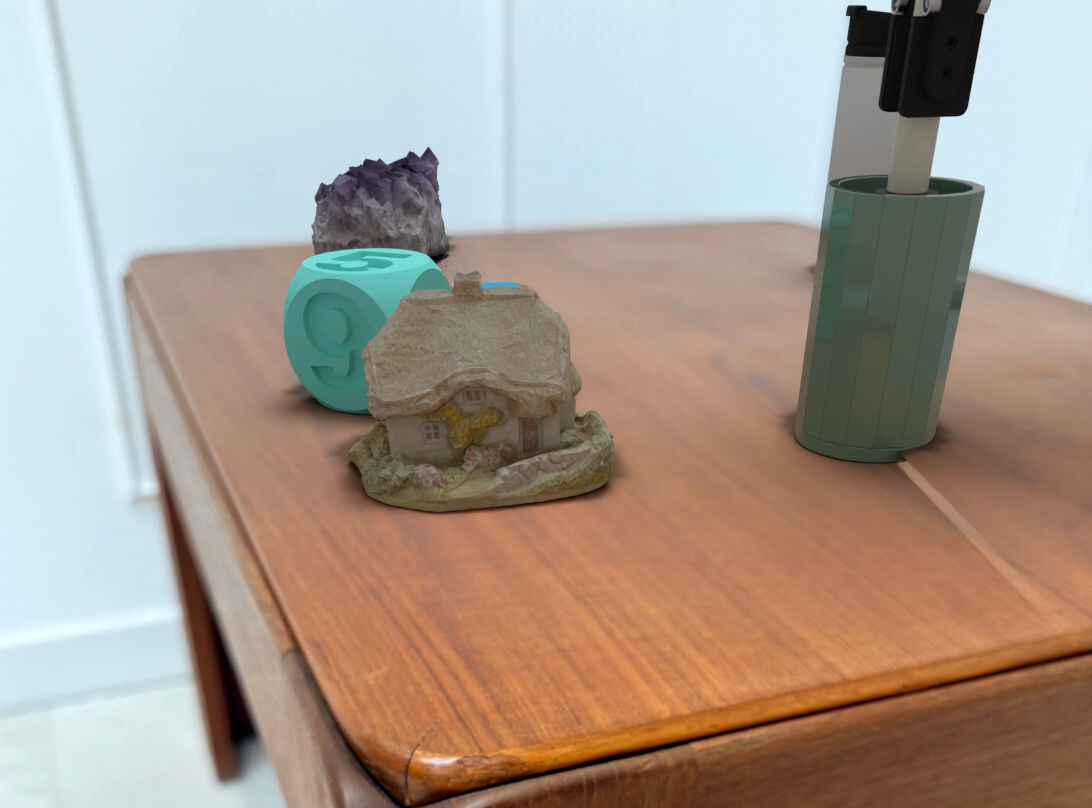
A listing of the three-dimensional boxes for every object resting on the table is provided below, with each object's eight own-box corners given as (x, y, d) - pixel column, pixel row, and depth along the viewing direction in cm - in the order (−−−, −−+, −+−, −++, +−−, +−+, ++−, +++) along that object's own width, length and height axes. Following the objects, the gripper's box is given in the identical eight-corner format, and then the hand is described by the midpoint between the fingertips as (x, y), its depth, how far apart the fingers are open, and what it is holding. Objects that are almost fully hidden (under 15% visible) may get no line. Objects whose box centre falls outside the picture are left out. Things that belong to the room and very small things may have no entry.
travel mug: (800, 273, 98) (833, 4, 87) (868, 269, 99) (910, 3, 88) (827, 288, 93) (867, 5, 82) (899, 284, 94) (948, 4, 83)
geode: (354, 239, 114) (359, 130, 108) (463, 258, 113) (472, 149, 108) (290, 272, 97) (292, 145, 91) (417, 294, 96) (426, 168, 91)
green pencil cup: (904, 416, 66) (950, 173, 58) (953, 460, 59) (1011, 195, 52) (779, 420, 65) (809, 176, 58) (815, 465, 59) (854, 198, 51)
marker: (905, 307, 60) (963, -28, 51) (926, 322, 57) (991, -29, 49) (848, 309, 60) (896, -27, 51) (866, 324, 57) (920, -27, 48)
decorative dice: (461, 384, 72) (456, 252, 67) (405, 421, 66) (394, 279, 61) (355, 371, 74) (342, 244, 70) (291, 406, 68) (272, 269, 63)
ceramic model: (339, 516, 54) (314, 302, 48) (353, 440, 63) (334, 252, 57) (622, 506, 54) (631, 294, 49) (596, 432, 64) (601, 246, 58)
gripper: (1222, -507, 36) (1073, 129, 47) (1015, -377, 49) (935, 98, 60) (1001, -507, 36) (901, 134, 46) (852, -376, 49) (800, 101, 59)
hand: (921, 110), depth 53 cm, fingers closed on marker, 2 cm apart
